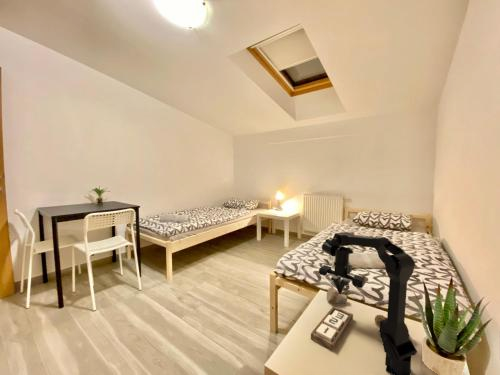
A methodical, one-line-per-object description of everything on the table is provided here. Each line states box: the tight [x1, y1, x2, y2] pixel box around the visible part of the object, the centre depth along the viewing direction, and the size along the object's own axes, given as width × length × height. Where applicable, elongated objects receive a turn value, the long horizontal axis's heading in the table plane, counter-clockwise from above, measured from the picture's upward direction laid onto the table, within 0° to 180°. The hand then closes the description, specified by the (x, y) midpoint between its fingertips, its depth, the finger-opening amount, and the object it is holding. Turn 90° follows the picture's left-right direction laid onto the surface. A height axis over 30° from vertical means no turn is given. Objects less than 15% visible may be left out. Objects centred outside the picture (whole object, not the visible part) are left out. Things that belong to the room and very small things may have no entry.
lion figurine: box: [374, 314, 410, 337], centre depth 89 cm, size 15×5×9 cm, turn 92°
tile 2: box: [324, 315, 343, 331], centre depth 93 cm, size 6×6×2 cm
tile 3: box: [332, 310, 348, 322], centre depth 99 cm, size 6×6×2 cm
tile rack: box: [310, 305, 354, 352], centre depth 93 cm, size 9×24×2 cm, turn 139°
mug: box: [326, 287, 348, 304], centre depth 112 cm, size 8×10×10 cm
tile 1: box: [316, 323, 337, 342], centre depth 87 cm, size 6×6×2 cm
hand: (340, 293), depth 98 cm, fingers closed
